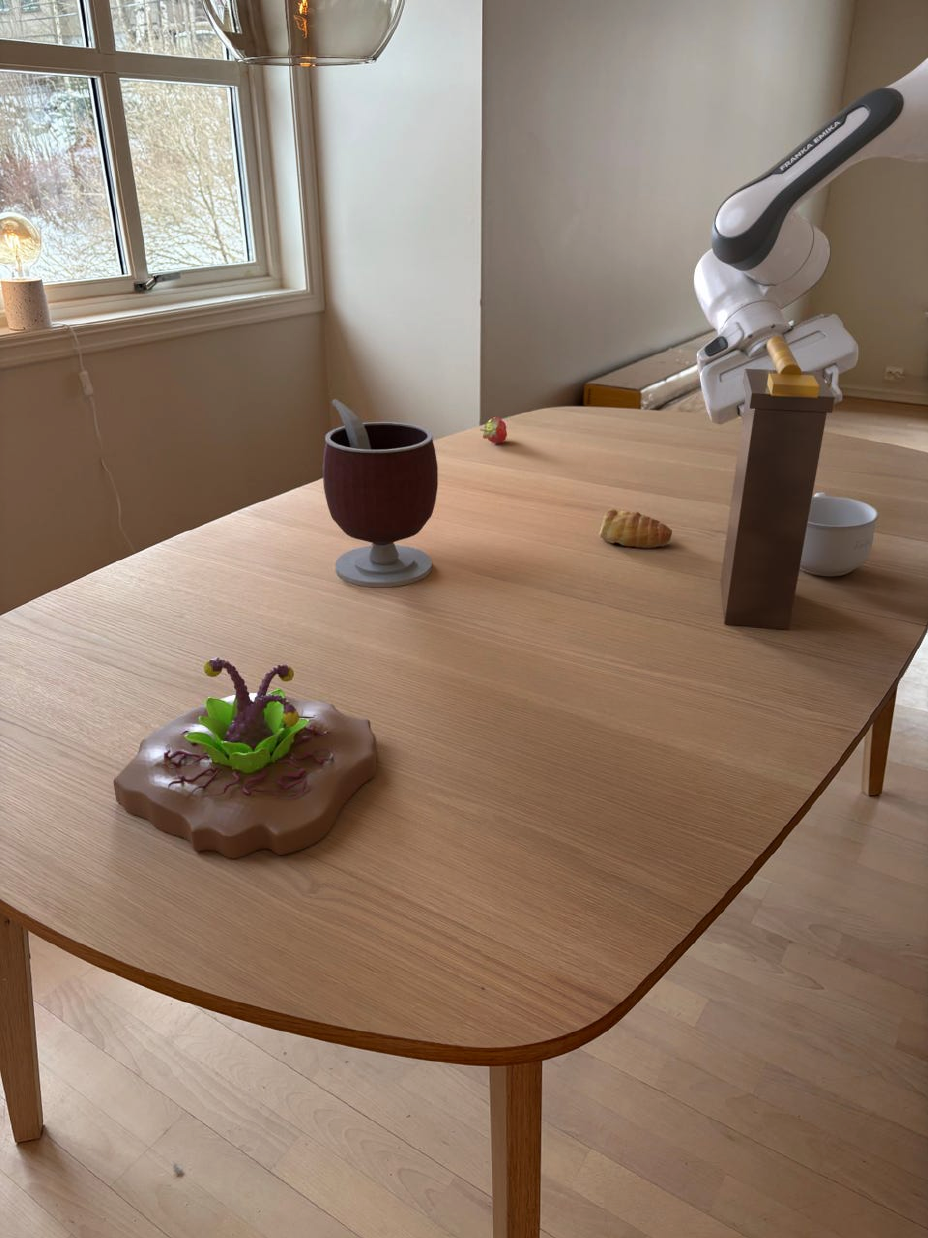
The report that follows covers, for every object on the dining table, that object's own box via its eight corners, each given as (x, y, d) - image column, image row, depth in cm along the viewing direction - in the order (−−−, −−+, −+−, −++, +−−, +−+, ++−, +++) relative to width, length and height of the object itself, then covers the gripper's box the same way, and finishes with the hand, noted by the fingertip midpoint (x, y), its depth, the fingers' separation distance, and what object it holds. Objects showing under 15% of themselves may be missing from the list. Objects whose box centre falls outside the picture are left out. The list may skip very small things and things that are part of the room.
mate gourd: (461, 568, 121) (461, 411, 112) (376, 600, 112) (369, 434, 103) (382, 535, 131) (377, 390, 122) (299, 563, 122) (287, 408, 113)
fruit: (516, 440, 173) (517, 413, 171) (495, 447, 169) (496, 420, 167) (498, 436, 176) (498, 409, 173) (477, 443, 172) (477, 415, 169)
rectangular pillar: (783, 586, 116) (819, 371, 105) (793, 630, 106) (835, 396, 94) (716, 581, 118) (744, 368, 106) (719, 624, 107) (751, 392, 95)
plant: (225, 697, 92) (212, 592, 87) (406, 741, 86) (403, 630, 81) (77, 817, 76) (50, 696, 71) (287, 883, 69) (274, 754, 64)
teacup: (866, 590, 115) (879, 528, 112) (773, 577, 119) (783, 516, 115) (865, 549, 127) (877, 492, 124) (781, 538, 130) (790, 482, 127)
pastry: (674, 536, 131) (677, 510, 129) (665, 554, 125) (668, 527, 124) (607, 527, 134) (609, 501, 132) (595, 544, 128) (597, 518, 127)
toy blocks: (794, 355, 113) (797, 336, 112) (817, 398, 93) (821, 375, 92) (755, 353, 114) (758, 334, 113) (771, 395, 94) (774, 373, 93)
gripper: (832, 323, 131) (879, 396, 124) (691, 386, 134) (729, 460, 128) (832, 291, 125) (881, 366, 118) (685, 357, 129) (724, 433, 122)
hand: (801, 415), depth 123 cm, fingers open, 8 cm apart
